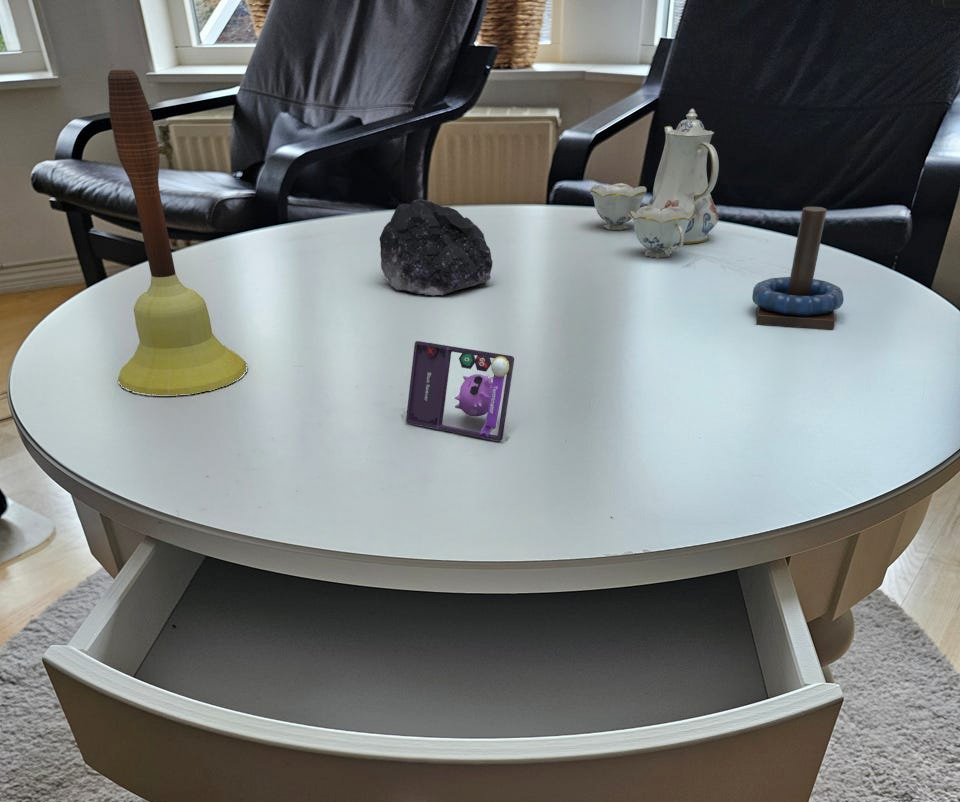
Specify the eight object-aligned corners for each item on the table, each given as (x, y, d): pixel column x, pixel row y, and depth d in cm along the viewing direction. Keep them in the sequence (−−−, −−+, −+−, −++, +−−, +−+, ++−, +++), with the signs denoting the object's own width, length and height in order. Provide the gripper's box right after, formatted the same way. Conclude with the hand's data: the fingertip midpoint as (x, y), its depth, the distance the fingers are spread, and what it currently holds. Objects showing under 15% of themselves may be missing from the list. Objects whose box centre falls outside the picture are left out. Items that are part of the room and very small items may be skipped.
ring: (839, 296, 103) (842, 277, 102) (843, 320, 96) (847, 301, 95) (752, 290, 106) (755, 272, 104) (749, 314, 98) (752, 295, 97)
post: (830, 308, 103) (853, 203, 96) (833, 329, 97) (857, 218, 90) (758, 303, 105) (775, 199, 98) (756, 324, 98) (774, 214, 92)
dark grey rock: (507, 296, 111) (512, 206, 106) (401, 299, 106) (401, 205, 101) (467, 279, 121) (470, 196, 116) (370, 281, 117) (368, 195, 112)
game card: (410, 340, 74) (509, 355, 71) (440, 343, 79) (534, 358, 76) (401, 422, 77) (496, 441, 73) (430, 421, 81) (521, 439, 78)
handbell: (114, 361, 91) (41, 68, 76) (238, 346, 94) (191, 62, 80) (120, 404, 81) (38, 79, 67) (258, 386, 85) (208, 72, 70)
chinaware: (571, 233, 141) (566, 112, 131) (669, 214, 144) (671, 94, 134) (651, 278, 120) (652, 137, 109) (764, 254, 122) (775, 114, 112)
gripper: (1072, -244, 71) (1004, 8, 80) (1035, -214, 82) (979, 5, 91) (968, -237, 73) (914, 9, 82) (945, -209, 84) (899, 5, 93)
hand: (948, 7), depth 87 cm, fingers open, 8 cm apart
